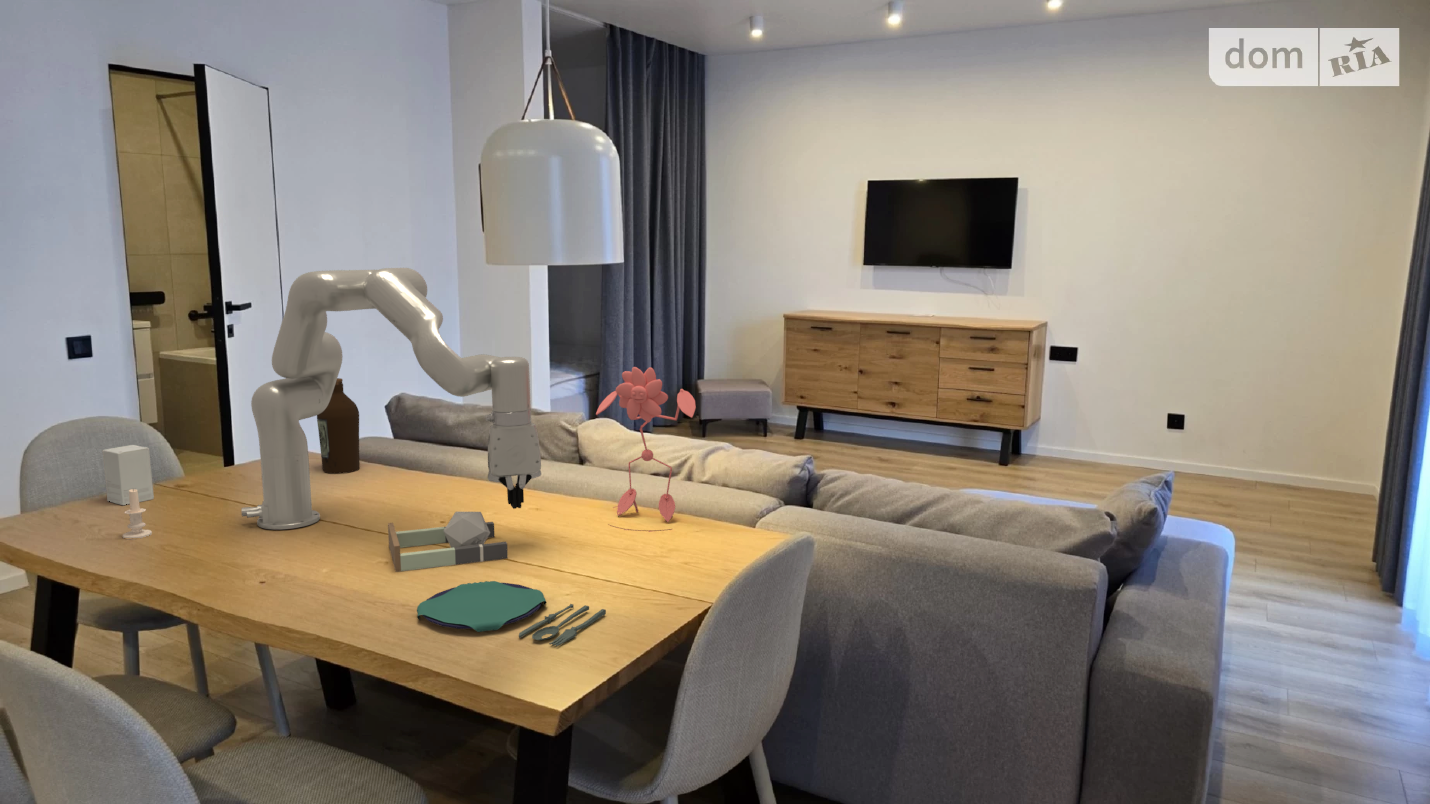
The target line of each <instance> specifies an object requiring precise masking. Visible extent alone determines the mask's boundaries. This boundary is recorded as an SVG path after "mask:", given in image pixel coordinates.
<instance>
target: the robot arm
mask: <svg viewBox="0 0 1430 804" xmlns="http://www.w3.org/2000/svg"><path fill="white" fill-rule="evenodd" d="M427 295H428V285H427V282H426V279H425V278H424V276H422V275H421V273H419V272H418V271H417V270H415V269H412V268H409V267H386V268H384V267H383V268H380V269H352V270H351V269H349V270H345V269H344V270H343V269H341V270H339V269H337V270H335V269H334V270H333V269H332V270H330V269H329V270H315V271H314V270H313V271H310V272H305V273H302V274H300V275H299V276H298V277H297V278H296V279H294V281H293V282H292V284H291V286H290V288H289V291H288V296H287V302H286V306H285V311H284V314H283V317H282V321H281V324H280V327H279V331H278V334H277V337H276V340H275V345H274V347H273V352H272V355H271V366H272V369H273V371H274V372H275V374H276V375H278V376H280V377H281V378H282V379H276V380H272V381H271V380H270V381H268V382H266V383H263V384H262V385H260V386H259V387H258V388H257V389H256V390H255V391H254V393H253V394H252V397H251V401H250V403H251V404H250V406H251V412H252V415H253V419H254V422H255V426H256V430H257V435H258V442H259V454H260V467H261V469H260V470H261V482H262V496H263V497H262V498H263V501H262V503H261V504H258V505H257V506H253V507H251V506H247V507H246V506H245V507H241V511H240V512H241V517H246V518H249V519H251V518H256V517H258V518H257V520H256V522H257V523H256V524H257V526H258V527H259V528H261V529H265V530H275V531H276V530H279V531H280V530H290V529H293V530H294V529H298V528H303V527H307V526H310V525H313V524H315V523H317V522H319V520H320V519H321V515H320V512H319V511H317V510H313V507H312V491H311V488H312V487H311V476H310V475H311V474H310V473H311V472H310V459H309V457H310V456H309V446H308V440H307V436H306V434H305V432H304V430H303V427H302V426H301V424H300V421H302V420H305V419H309V418H313V417H317V415H318V414H320V413H322V412H323V411H324V410H325V409H326V407H327V406H328V404H329V402H330V399H331V396H332V393H333V390H334V387H335V384H336V381H337V378H338V377H339V374H340V371H341V367H342V363H343V350H342V349H343V348H342V346H341V344H340V342H339V340H338V339H337V338H336V336H334V335H332V334H331V333H329V332H327V327H328V314H327V312H347V311H360V310H361V311H362V310H377V311H378V313H380V314H381V315H382V316H384V318H385V319H386V320H387V321H388V322H389V323H391V324H392V325H393V326H394V327H395V328H396V329H397V330H398V331H399V332H400V333H401V335H403V336H404V337H405V338H406V339H408V341H409V342H410V343H411V345H412V346H411V347H412V351H413V354H414V356H415V357H416V360H417V362H418V364H419V366H420V368H421V369H422V371H424V372H425V373H426V375H427V376H429V377H430V379H432V380H433V381H434V382H435V383H436V384H437V385H438V386H439V387H440V388H441V389H443V390H444V391H445V392H447V393H448V394H450V395H452V396H456V397H460V398H461V397H462V398H463V397H468V396H472V395H476V394H479V393H483V392H487V391H491V402H492V403H491V404H492V410H491V412H490V413H489V414H485V421H486V422H491V423H492V425H490V427H489V430H488V432H489V433H488V439H487V440H488V441H487V442H488V443H487V467H488V468H487V469H488V474H487V480H488V481H489V482H493V483H501V484H502V485H503V486H504V487H506V492H507V493H506V494H507V504H508V505H510V507H511V508H512V509H513V510H515V509H517V508H518V509H522V504H523V503H524V502H525V498H524V489H525V488H526V485H527V484H528V483H530V481H531V480H532V479H535V478H539V477H541V476H542V471H541V469H542V457H541V448H540V439H539V434H538V429H537V428H538V427H537V425H536V424H535V423H533V422H532V409H531V408H532V407H531V404H532V402H531V401H532V400H531V383H530V382H531V380H530V376H531V375H530V363H529V361H528V360H527V359H526V358H525V357H523V356H522V357H521V356H502V357H501V356H495V355H492V354H491V355H490V354H484V353H483V354H475V355H470V356H469V355H468V356H466V357H465V356H464V357H461V356H459V354H457V353H456V352H455V351H454V350H453V349H452V348H451V347H450V346H449V345H448V344H447V343H446V342H445V340H444V339H443V338H442V335H441V334H440V330H439V329H440V328H441V327H442V324H443V321H444V316H443V313H442V312H441V310H439V308H437V307H436V306H435V305H434V304H433V303H432V302H431V301H429V299H428V298H427ZM514 476H517V478H516V483H515V485H514V483H513V478H512V477H514Z"/></svg>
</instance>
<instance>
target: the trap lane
mask: <svg viewBox="0 0 1430 804" xmlns="http://www.w3.org/2000/svg"><path fill="white" fill-rule="evenodd" d="M485 522H486V524H487V527H488V529H489V531H490V534H489V536H488V538H487V539H491V538H495V523H494V521H488V522H487V521H485ZM445 528H446V526H437V527H431V528H430V527H429V528H420V529H419V528H418V529H410V530H402V531H401V530H399V531H396V528H395V525H394V522H387V535H388V549H389V553H390V556H391V560H392V563H393V568H394V571H395V573H398V572H406V571H407V572H408V571H414V570H415V571H416V570H422V569H423V570H424V569H430V568H439V567H447V566H455V565H463V564H473V563H480V562H482V563H483V562H490V561H496V560H505V559H507V560H508V558H509V557H508V555H509V552H508V542H507V541H499V542H498V541H497V542H490V543H489V542H488V543H484V544H480V545H471V546H462V547H453V548H451V547H447V548H438V549H428V550H419V551H410V552H403V553H401V549H402V548H411V547H420V546H429V545H437V544H447V543H448V544H449V542H448V540H447V538H446V536H445V534H444V532H443V531H444V529H445Z"/></svg>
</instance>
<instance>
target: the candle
mask: <svg viewBox="0 0 1430 804" xmlns="http://www.w3.org/2000/svg"><path fill="white" fill-rule="evenodd" d="M129 500H130V504H129V509H127V510H125V511H124V514H125V515H128V516H129V522H130V523H128V525H127V529H131V530H130V531H127V532H125V533H122V538H123V539H124V538H140V539H144V538H143V537H145V538H147V537H146V536H148V537H150V536H151V535H153V532H152V530H151V529H143V528H144V527H145V526H146V522H144V521H143V516H142V513H144V512H146V510H147V509H146V508H143V507H142V508H141V507H140V502H139V498H138V491H137V489H131V490H129ZM149 535H150V536H149Z"/></svg>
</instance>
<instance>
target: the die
mask: <svg viewBox="0 0 1430 804" xmlns="http://www.w3.org/2000/svg"><path fill="white" fill-rule="evenodd" d="M486 522H487V521H486V520H485V518H484V516H483V513H482V511H454V514H453V515H452V517H451V518H450V519H449V522H447V525H446V526H445V527H446V528H445V529H444V531H443V532H444V534H445V536H446V538H447V540H448V544H449V548H453V547H462V546H471V545H480V544H486V541H487V539H489V538H488V536H489V534H490V531H489V529H488V527H487V524H486Z"/></svg>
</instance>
